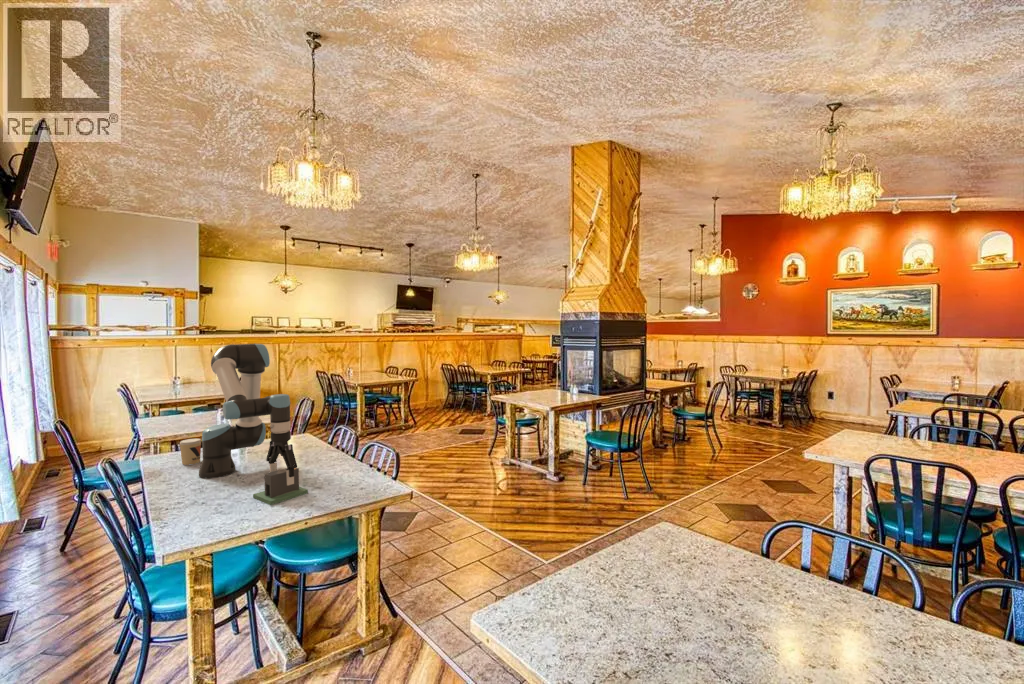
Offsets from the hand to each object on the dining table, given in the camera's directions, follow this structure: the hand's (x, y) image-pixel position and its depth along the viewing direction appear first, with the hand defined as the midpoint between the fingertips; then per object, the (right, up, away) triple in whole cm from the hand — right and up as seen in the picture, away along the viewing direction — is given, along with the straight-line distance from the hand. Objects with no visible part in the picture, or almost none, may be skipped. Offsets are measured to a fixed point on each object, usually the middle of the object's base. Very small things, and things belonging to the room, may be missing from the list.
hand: (281, 481), depth 192 cm
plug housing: (0, -5, 0) cm, 5 cm away
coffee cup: (-72, -5, +48) cm, 87 cm away
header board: (-1, -6, +1) cm, 6 cm away
